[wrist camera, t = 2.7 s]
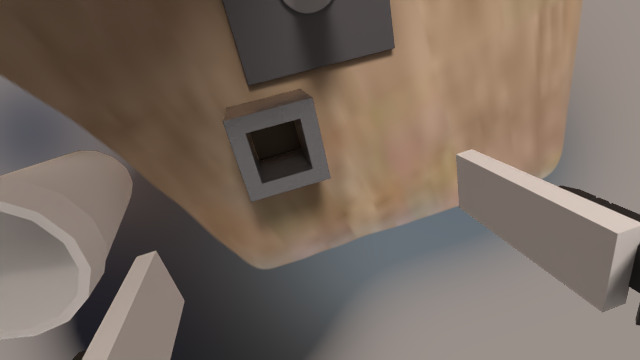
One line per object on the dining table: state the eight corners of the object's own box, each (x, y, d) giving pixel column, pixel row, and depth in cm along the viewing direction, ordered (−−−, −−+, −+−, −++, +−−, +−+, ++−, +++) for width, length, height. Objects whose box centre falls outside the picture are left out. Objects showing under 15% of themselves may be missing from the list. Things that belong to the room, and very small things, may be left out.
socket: (250, 175, 32) (251, 201, 26) (226, 107, 29) (222, 121, 23) (316, 156, 33) (330, 178, 27) (300, 88, 30) (312, 97, 24)
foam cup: (5, 175, 27) (-178, 271, 15) (88, 111, 27) (-35, 159, 15) (99, 244, 31) (11, 363, 19) (172, 190, 31) (128, 277, 19)
